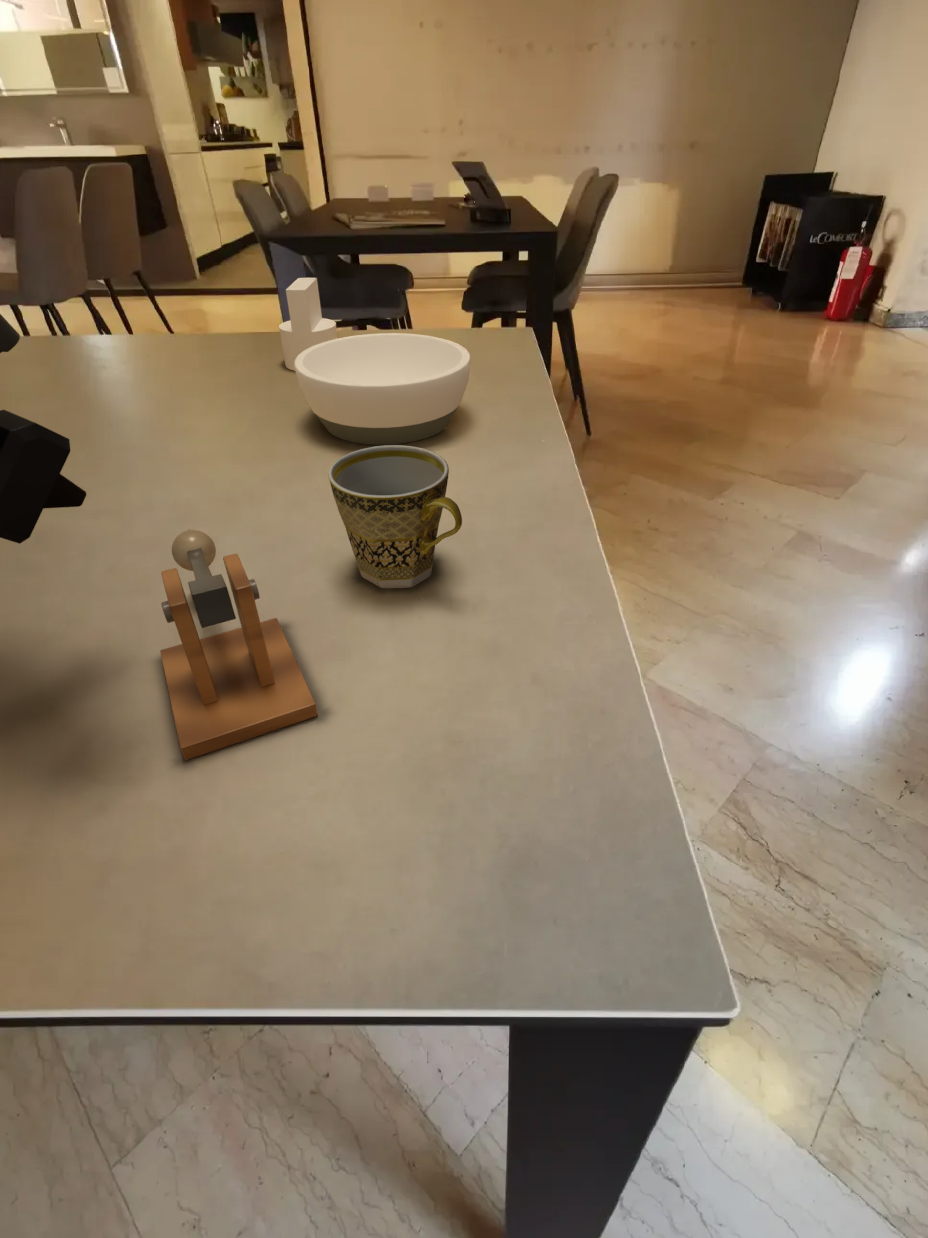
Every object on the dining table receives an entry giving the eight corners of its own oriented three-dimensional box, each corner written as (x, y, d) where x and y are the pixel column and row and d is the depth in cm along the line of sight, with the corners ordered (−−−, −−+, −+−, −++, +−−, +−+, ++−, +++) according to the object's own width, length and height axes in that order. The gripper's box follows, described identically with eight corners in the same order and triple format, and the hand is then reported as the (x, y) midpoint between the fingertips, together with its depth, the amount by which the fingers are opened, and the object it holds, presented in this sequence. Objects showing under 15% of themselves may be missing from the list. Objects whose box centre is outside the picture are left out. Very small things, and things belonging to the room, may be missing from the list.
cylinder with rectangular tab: (335, 371, 107) (325, 290, 99) (279, 371, 107) (265, 290, 100) (344, 355, 114) (335, 277, 107) (292, 355, 114) (279, 277, 107)
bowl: (497, 406, 94) (499, 344, 89) (417, 467, 79) (413, 397, 73) (365, 382, 103) (359, 325, 97) (268, 434, 87) (255, 369, 82)
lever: (177, 569, 57) (165, 530, 55) (218, 559, 58) (207, 521, 57) (194, 638, 43) (179, 590, 42) (247, 623, 45) (233, 576, 43)
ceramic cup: (320, 571, 61) (303, 471, 55) (398, 530, 67) (391, 435, 61) (420, 630, 55) (414, 522, 48) (497, 578, 60) (501, 476, 54)
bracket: (164, 661, 52) (123, 554, 46) (279, 628, 55) (255, 524, 49) (185, 760, 44) (139, 647, 38) (318, 715, 47) (295, 604, 41)
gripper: (-57, 247, 28) (217, 422, 42) (-209, 215, 37) (59, 369, 51) (-172, 486, 28) (142, 583, 42) (-298, 397, 37) (-4, 502, 50)
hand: (81, 498), depth 46 cm, fingers closed
